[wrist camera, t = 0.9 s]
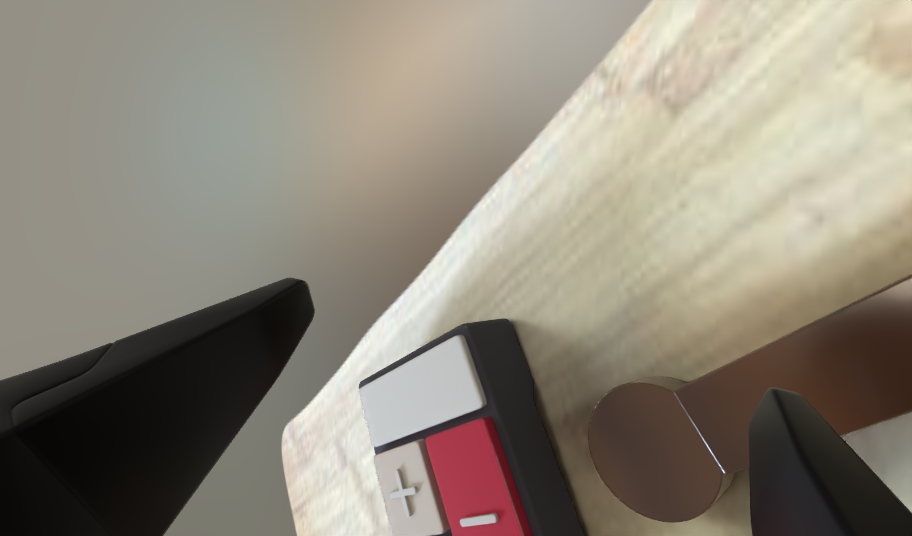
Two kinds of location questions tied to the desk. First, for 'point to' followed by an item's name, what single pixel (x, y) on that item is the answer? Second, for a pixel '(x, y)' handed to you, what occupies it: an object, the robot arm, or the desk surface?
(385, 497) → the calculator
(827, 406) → the spoon
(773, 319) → the desk surface
